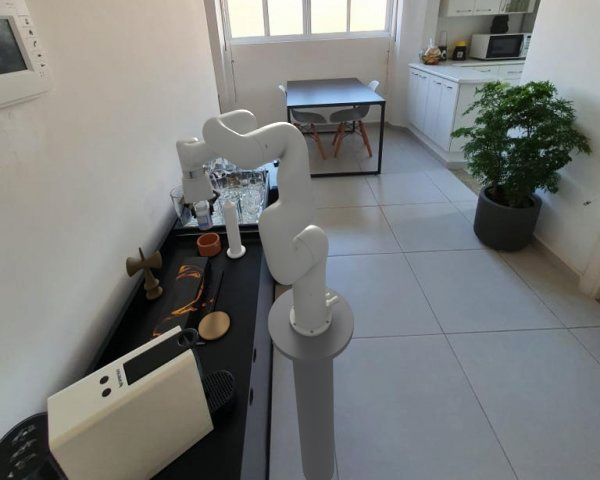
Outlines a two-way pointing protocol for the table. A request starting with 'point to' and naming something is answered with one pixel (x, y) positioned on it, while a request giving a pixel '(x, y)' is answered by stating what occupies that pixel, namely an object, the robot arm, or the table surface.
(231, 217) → the candle
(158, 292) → the kendama
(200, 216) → the pill bottle
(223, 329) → the coaster
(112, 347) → the table surface
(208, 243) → the pot
